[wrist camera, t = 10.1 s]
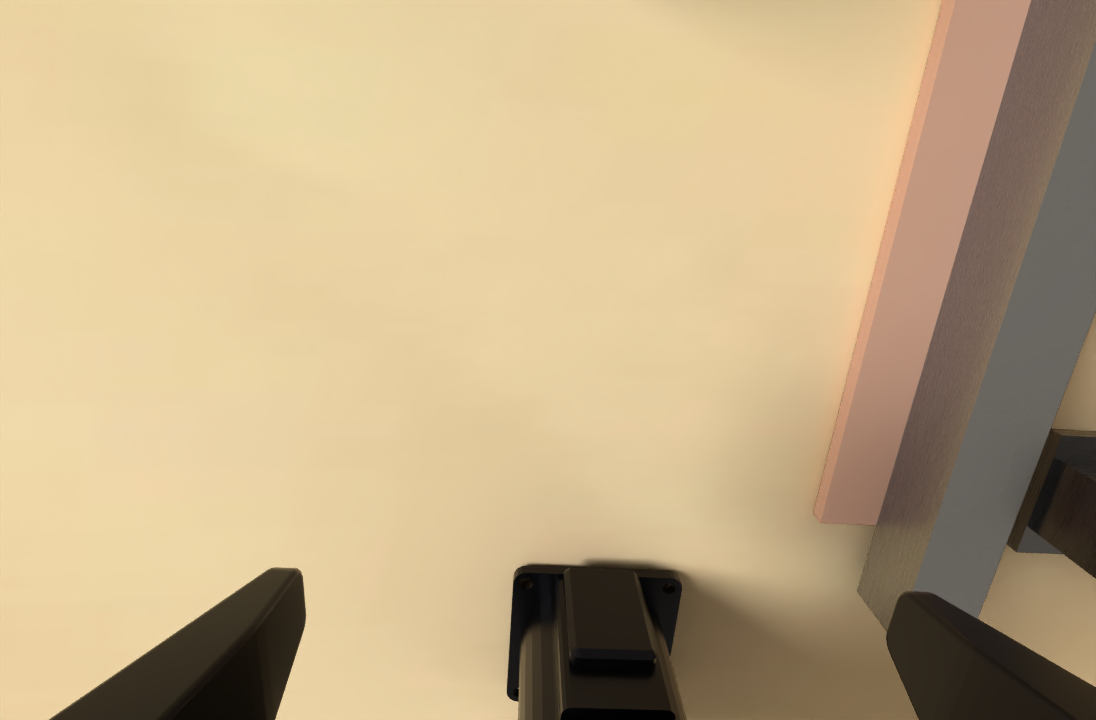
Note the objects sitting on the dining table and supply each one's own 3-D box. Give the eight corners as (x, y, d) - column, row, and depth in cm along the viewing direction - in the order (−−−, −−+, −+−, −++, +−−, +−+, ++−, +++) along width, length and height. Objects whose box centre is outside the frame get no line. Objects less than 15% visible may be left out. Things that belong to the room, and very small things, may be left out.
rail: (921, 593, 23) (967, 645, 21) (856, 591, 23) (895, 643, 21) (1211, -260, 15) (1346, -341, 12) (1111, -271, 15) (1227, -356, 12)
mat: (990, 521, 23) (1001, 530, 22) (813, 513, 23) (820, 522, 22) (1288, -287, 15) (1318, -305, 14) (1022, -318, 15) (1042, -336, 14)
